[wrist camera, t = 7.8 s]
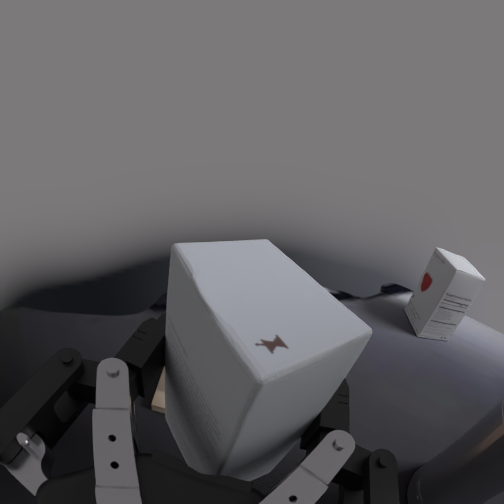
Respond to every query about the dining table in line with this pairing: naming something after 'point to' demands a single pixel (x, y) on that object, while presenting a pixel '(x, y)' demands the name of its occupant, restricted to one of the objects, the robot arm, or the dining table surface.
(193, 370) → the skincare box
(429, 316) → the supplement box
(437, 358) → the dining table surface
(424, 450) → the dining table surface
